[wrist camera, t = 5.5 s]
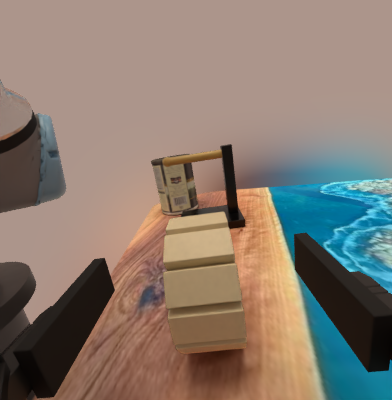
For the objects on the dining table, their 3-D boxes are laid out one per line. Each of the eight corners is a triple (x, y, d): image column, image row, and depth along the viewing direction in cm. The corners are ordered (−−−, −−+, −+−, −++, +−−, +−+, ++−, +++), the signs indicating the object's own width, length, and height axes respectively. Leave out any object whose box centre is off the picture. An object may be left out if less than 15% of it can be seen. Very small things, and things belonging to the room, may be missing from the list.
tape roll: (184, 389, 15) (153, 261, 12) (190, 287, 26) (175, 204, 23) (252, 383, 15) (237, 250, 12) (230, 282, 26) (220, 198, 23)
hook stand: (172, 236, 41) (155, 157, 37) (177, 217, 51) (165, 153, 46) (245, 226, 40) (237, 144, 36) (236, 209, 50) (229, 143, 45)
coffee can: (185, 200, 64) (177, 154, 60) (206, 205, 56) (198, 153, 52) (155, 210, 59) (144, 161, 55) (173, 218, 50) (162, 160, 47)
